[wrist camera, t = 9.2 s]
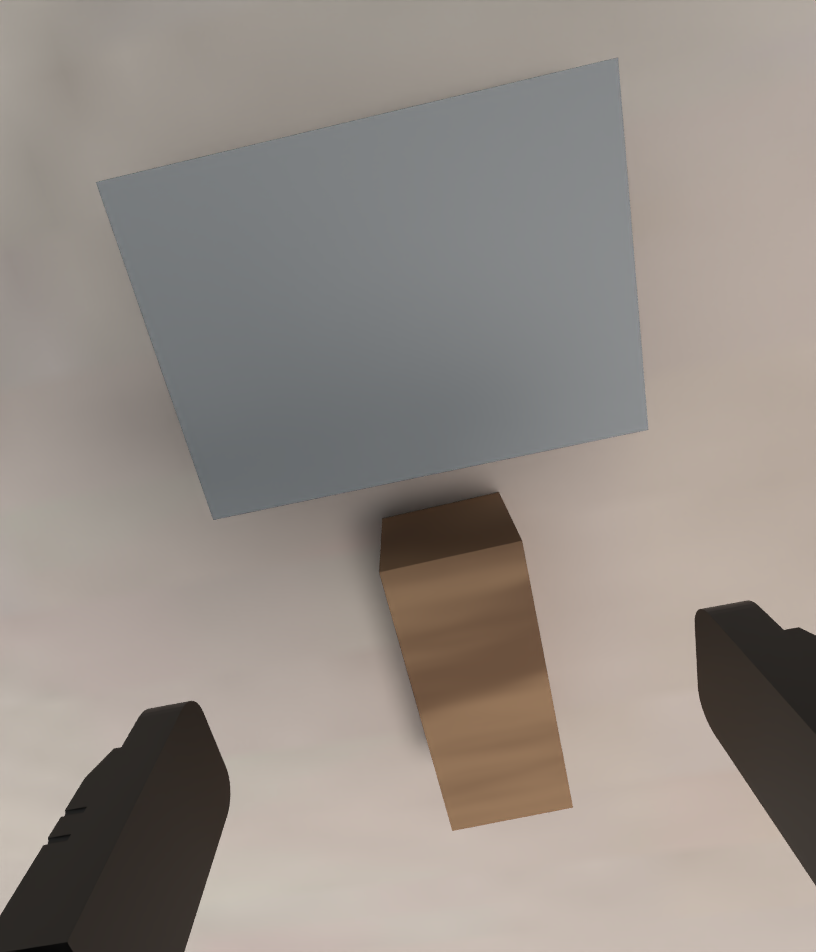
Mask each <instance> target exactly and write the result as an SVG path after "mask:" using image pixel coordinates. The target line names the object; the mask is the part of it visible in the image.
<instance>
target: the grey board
mask: <svg viewBox="0 0 816 952" xmlns="http://www.w3.org/2000/svg"><path fill="white" fill-rule="evenodd" d="M96 184H97V186H98V189H99V192H100V195H101V198H102V201H103V204H104V207H105V209H106V212H107V215H108V218H109V221H110V224H111V227H112V230H113V232H114V235H115V238H116V241H117V244H118V247H119V250H120V253H121V255H122V258H123V261H124V264H125V267H126V270H127V273H128V276H129V278H130V281H131V284H132V287H133V290H134V293H135V296H136V299H137V302H138V304H139V307H140V310H141V313H142V316H143V319H144V322H145V325H146V327H147V330H148V333H149V336H150V339H151V342H152V345H153V348H154V350H155V353H156V356H157V359H158V362H159V365H160V368H161V371H162V373H163V376H164V379H165V382H166V385H167V388H168V391H169V394H170V396H171V399H172V402H173V405H174V408H175V411H176V414H177V417H178V419H179V422H180V425H181V428H182V431H183V434H184V437H185V440H186V442H187V445H188V448H189V451H190V454H191V457H192V460H193V463H194V466H195V468H196V471H197V474H198V477H199V480H200V483H201V486H202V489H203V491H204V494H205V497H206V500H207V503H208V506H209V509H210V512H211V514H212V517H213V520H215V519H220V518H225V517H230V516H235V515H239V514H244V513H249V512H254V511H259V510H264V509H268V508H273V507H278V506H283V505H288V504H292V503H297V502H302V501H307V500H312V499H317V498H321V497H326V496H331V495H336V494H341V493H346V492H350V491H355V490H360V489H365V488H370V487H374V486H379V485H384V484H389V483H394V482H399V481H403V480H408V479H413V478H418V477H423V476H428V475H432V474H437V473H442V472H447V471H452V470H456V469H461V468H466V467H471V466H476V465H481V464H485V463H490V462H495V461H500V460H505V459H510V458H514V457H519V456H524V455H529V454H534V453H538V452H543V451H548V450H553V449H558V448H563V447H567V446H572V445H577V444H582V443H587V442H592V441H596V440H601V439H606V438H611V437H616V436H620V435H625V434H630V433H635V432H640V431H645V430H648V420H647V408H646V396H645V383H644V371H643V359H642V347H641V334H640V322H639V310H638V298H637V285H636V273H635V261H634V249H633V236H632V224H631V212H630V200H629V187H628V175H627V163H626V151H625V138H624V126H623V114H622V102H621V89H620V77H619V65H618V58H614V59H610V60H605V61H601V62H597V63H593V64H589V65H585V66H580V67H576V68H572V69H568V70H564V71H559V72H555V73H551V74H547V75H543V76H539V77H534V78H530V79H526V80H522V81H518V82H513V83H509V84H505V85H501V86H497V87H492V88H488V89H484V90H480V91H476V92H472V93H467V94H463V95H459V96H455V97H451V98H446V99H442V100H438V101H434V102H430V103H426V104H421V105H417V106H413V107H409V108H405V109H400V110H396V111H392V112H388V113H384V114H379V115H375V116H371V117H367V118H363V119H359V120H354V121H350V122H346V123H342V124H338V125H333V126H329V127H325V128H321V129H317V130H312V131H308V132H304V133H300V134H296V135H292V136H287V137H283V138H279V139H275V140H271V141H266V142H262V143H258V144H254V145H250V146H246V147H241V148H237V149H233V150H229V151H225V152H220V153H216V154H212V155H208V156H204V157H199V158H195V159H191V160H187V161H183V162H179V163H174V164H170V165H166V166H162V167H158V168H153V169H149V170H145V171H141V172H137V173H133V174H128V175H124V176H120V177H116V178H112V179H107V180H103V181H99V182H96Z"/></svg>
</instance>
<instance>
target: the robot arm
mask: <svg viewBox="0 0 816 952" xmlns="http://www.w3.org/2000/svg"><path fill="white" fill-rule="evenodd" d="M695 638H696V657H697V677H698V692H699V697H700V702H701V705H702V708H703V711H704V714H705V717H706V719H707V721H708V723H709V726H710V727H711V729H712V731H713V733H714V734H715V736H716V737H717V739H718V740H719V742H720V743H721V745H722V746H723V748H724V749H725V751H726V752H727V754H728V755H729V757H730V758H731V760H732V761H733V763H734V764H735V766H736V767H737V769H738V770H739V772H740V773H741V775H742V776H743V778H744V779H745V781H746V782H747V784H748V785H749V787H750V788H751V790H752V791H753V793H754V794H755V796H756V797H757V799H758V800H759V801H760V803H761V804H762V806H763V807H764V809H765V810H766V812H767V813H768V815H769V816H770V818H771V819H772V821H773V822H774V824H775V825H776V827H777V828H778V830H779V831H780V833H781V834H782V836H783V837H784V839H785V840H786V842H787V843H788V845H789V846H790V848H791V849H792V851H793V852H794V854H795V855H796V857H797V858H798V860H799V861H800V863H801V864H802V866H803V867H804V869H805V870H806V872H807V873H808V875H809V876H810V878H811V879H812V881H813V882H814V884H815V885H816V635H814V634H811V633H809V632H807V631H805V630H803V629H801V628H799V627H798V628H793V629H787V630H783V629H782V628H781V627H780V626H779V625H778V624H777V623H776V622H775V621H774V620H773V619H772V618H771V617H770V616H769V615H768V614H766V613H765V612H764V611H763V610H762V609H761V608H760V607H759V606H758V605H757V604H756V603H754V602H752V601H742V602H737V603H731V604H726V605H721V606H715V607H710V608H704V609H699V610H698V611H697V612H696V615H695ZM229 805H230V781H229V776H228V772H227V769H226V766H225V764H224V761H223V759H222V757H221V754H220V752H219V749H218V747H217V744H216V742H215V740H214V737H213V735H212V732H211V730H210V728H209V725H208V723H207V720H206V718H205V715H204V713H203V711H202V709H201V707H200V706H199V704H198V703H196V702H195V701H188V702H183V703H177V704H172V705H166V706H161V707H155V708H150V709H147V710H145V711H144V712H143V713H142V714H141V715H140V716H139V718H138V720H137V721H136V723H135V725H134V726H133V728H132V730H131V732H130V733H129V735H128V737H127V739H126V740H125V742H124V744H123V745H122V747H121V748H115V749H113V750H112V751H111V752H110V753H109V754H108V755H107V756H106V757H105V758H104V759H103V760H102V761H101V762H100V763H99V764H98V765H97V766H96V767H95V768H94V769H93V770H92V771H91V772H90V773H89V774H88V775H87V776H86V777H85V779H84V780H83V782H82V784H81V785H80V787H79V788H78V790H77V792H76V793H75V795H74V797H73V798H72V800H71V801H70V803H69V805H68V806H67V808H66V810H65V816H64V817H61V818H60V819H59V821H58V823H57V824H56V826H55V827H54V829H53V831H52V832H51V834H50V836H49V837H48V844H47V845H43V847H42V849H41V850H40V852H39V853H38V855H37V857H36V858H35V860H34V862H33V863H32V865H31V866H30V868H29V870H28V871H27V873H26V875H25V876H24V878H23V879H22V881H21V883H20V884H19V886H18V887H17V889H16V891H15V892H14V894H13V896H12V897H11V899H10V900H9V902H8V904H7V905H6V907H5V909H4V910H3V912H2V913H1V915H0V952H184V951H185V948H186V945H187V942H188V938H189V935H190V932H191V929H192V926H193V922H194V919H195V916H196V913H197V910H198V907H199V903H200V900H201V897H202V894H203V891H204V888H205V884H206V881H207V878H208V875H209V872H210V869H211V865H212V862H213V859H214V856H215V853H216V850H217V846H218V843H219V840H220V837H221V834H222V830H223V827H224V824H225V821H226V818H227V814H228V811H229Z"/></svg>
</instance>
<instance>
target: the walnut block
mask: <svg viewBox="0 0 816 952" xmlns="http://www.w3.org/2000/svg"><path fill="white" fill-rule="evenodd" d="M379 573H380V577H381V580H382V584H383V588H384V591H385V595H386V598H387V602H388V605H389V609H390V612H391V616H392V619H393V623H394V626H395V630H396V633H397V637H398V640H399V644H400V648H401V651H402V655H403V658H404V662H405V665H406V669H407V672H408V676H409V679H410V683H411V686H412V690H413V693H414V697H415V700H416V704H417V708H418V711H419V715H420V718H421V722H422V725H423V729H424V732H425V736H426V739H427V743H428V746H429V750H430V753H431V757H432V760H433V764H434V767H435V771H436V775H437V778H438V782H439V785H440V789H441V792H442V796H443V799H444V803H445V806H446V810H447V813H448V817H449V820H450V824H451V827H452V831H454V830H459V829H464V828H470V827H475V826H480V825H485V824H490V823H495V822H500V821H506V820H511V819H516V818H521V817H526V816H531V815H536V814H542V813H547V812H552V811H557V810H562V809H567V808H573V806H572V800H571V795H570V790H569V785H568V779H567V774H566V769H565V764H564V758H563V753H562V748H561V743H560V737H559V732H558V727H557V722H556V716H555V711H554V706H553V701H552V695H551V690H550V685H549V680H548V674H547V669H546V664H545V659H544V653H543V648H542V643H541V638H540V632H539V627H538V622H537V617H536V611H535V606H534V601H533V596H532V590H531V585H530V580H529V575H528V569H527V564H526V559H525V554H524V548H523V543H522V540H521V538H520V535H519V533H518V531H517V529H516V527H515V525H514V523H513V521H512V519H511V517H510V515H509V513H508V510H507V508H506V506H505V504H504V502H503V500H502V498H501V496H500V494H499V492H497V493H493V494H489V495H484V496H480V497H475V498H471V499H467V500H462V501H458V502H453V503H449V504H445V505H440V506H436V507H431V508H427V509H422V510H418V511H414V512H409V513H405V514H400V515H396V516H392V517H387V518H383V519H382V533H381V550H380V567H379Z"/></svg>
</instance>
